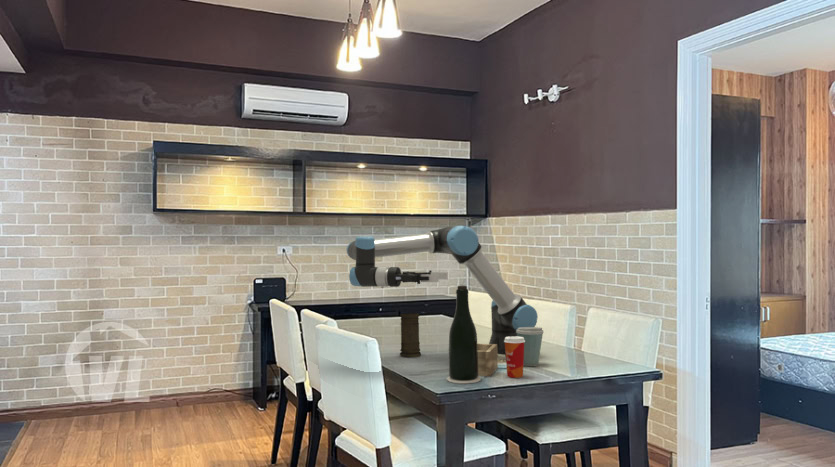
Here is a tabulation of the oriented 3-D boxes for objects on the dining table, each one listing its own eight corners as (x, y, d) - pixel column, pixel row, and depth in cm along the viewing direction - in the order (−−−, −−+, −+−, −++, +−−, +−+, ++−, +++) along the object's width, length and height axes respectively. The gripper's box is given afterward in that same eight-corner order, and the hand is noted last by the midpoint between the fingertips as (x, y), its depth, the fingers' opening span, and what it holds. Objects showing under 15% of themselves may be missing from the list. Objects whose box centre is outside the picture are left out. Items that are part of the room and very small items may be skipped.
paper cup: (502, 374, 236) (501, 336, 236) (522, 373, 237) (522, 335, 237) (507, 379, 228) (506, 339, 228) (528, 378, 229) (527, 339, 229)
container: (418, 357, 270) (418, 315, 270) (398, 357, 272) (397, 315, 272) (422, 353, 279) (422, 312, 279) (402, 353, 281) (402, 312, 281)
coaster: (478, 375, 235) (478, 373, 235) (483, 383, 223) (483, 381, 223) (445, 376, 234) (445, 374, 234) (448, 384, 222) (448, 382, 222)
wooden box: (450, 374, 237) (449, 350, 237) (459, 365, 252) (459, 343, 252) (490, 376, 233) (489, 351, 233) (497, 367, 248) (497, 344, 248)
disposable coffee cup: (511, 363, 255) (510, 325, 255) (534, 361, 259) (534, 324, 259) (525, 368, 245) (524, 329, 245) (549, 366, 249) (548, 327, 249)
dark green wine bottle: (474, 373, 235) (472, 283, 235) (481, 380, 224) (480, 286, 224) (446, 375, 233) (444, 284, 233) (452, 382, 222) (451, 287, 222)
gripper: (399, 284, 257) (451, 284, 251) (378, 289, 233) (434, 290, 227) (399, 265, 257) (450, 265, 251) (377, 268, 233) (433, 268, 227)
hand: (443, 277), depth 239 cm, fingers open, 13 cm apart
